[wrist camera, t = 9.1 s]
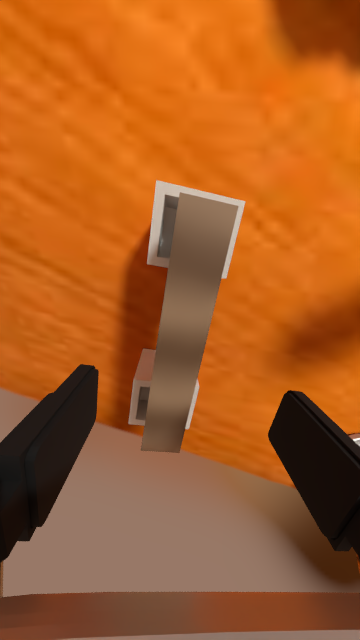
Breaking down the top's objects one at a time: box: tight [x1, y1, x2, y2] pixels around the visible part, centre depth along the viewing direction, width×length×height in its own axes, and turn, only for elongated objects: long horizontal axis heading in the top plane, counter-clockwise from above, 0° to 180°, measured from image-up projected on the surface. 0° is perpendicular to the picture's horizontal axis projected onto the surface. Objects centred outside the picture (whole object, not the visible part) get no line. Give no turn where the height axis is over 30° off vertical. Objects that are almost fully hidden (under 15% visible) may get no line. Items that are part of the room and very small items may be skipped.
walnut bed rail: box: [141, 192, 239, 453], centre depth 16 cm, size 20×4×7 cm, turn 170°
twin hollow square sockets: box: [128, 180, 245, 429], centre depth 20 cm, size 24×7×7 cm, turn 170°
